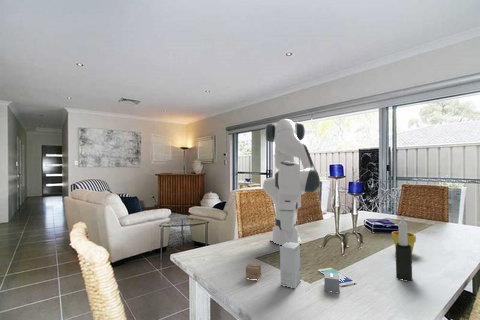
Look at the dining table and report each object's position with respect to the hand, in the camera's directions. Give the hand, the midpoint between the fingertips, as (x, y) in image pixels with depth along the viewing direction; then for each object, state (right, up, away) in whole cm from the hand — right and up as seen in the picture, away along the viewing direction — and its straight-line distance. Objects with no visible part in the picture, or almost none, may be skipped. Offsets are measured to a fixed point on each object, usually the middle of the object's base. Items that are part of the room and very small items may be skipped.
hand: (290, 237), depth 95 cm
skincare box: (0, -18, 0) cm, 18 cm away
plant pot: (+66, -18, +31) cm, 75 cm away
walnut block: (-14, -18, +4) cm, 23 cm away
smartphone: (+20, -18, +4) cm, 27 cm away
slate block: (+14, -18, -5) cm, 23 cm away
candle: (+47, -18, +3) cm, 50 cm away
